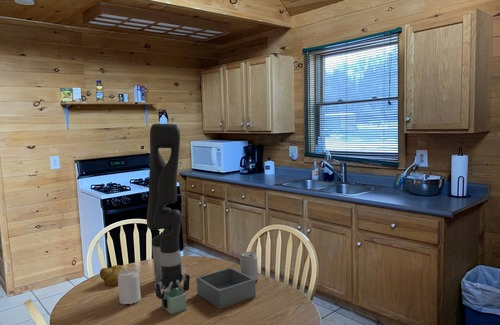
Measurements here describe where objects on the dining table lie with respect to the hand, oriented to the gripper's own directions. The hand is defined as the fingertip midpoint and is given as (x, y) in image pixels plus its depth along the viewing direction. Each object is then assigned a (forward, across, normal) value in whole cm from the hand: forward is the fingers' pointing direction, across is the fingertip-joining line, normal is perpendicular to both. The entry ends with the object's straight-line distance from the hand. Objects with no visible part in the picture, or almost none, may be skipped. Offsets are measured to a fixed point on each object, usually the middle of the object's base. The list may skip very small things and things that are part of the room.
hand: (173, 304), depth 151 cm
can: (+1, -37, -2) cm, 37 cm away
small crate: (+1, 0, 0) cm, 1 cm away
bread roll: (+1, +9, -42) cm, 43 cm away
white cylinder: (+1, +11, -17) cm, 20 cm away
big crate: (+1, -21, +4) cm, 21 cm away
